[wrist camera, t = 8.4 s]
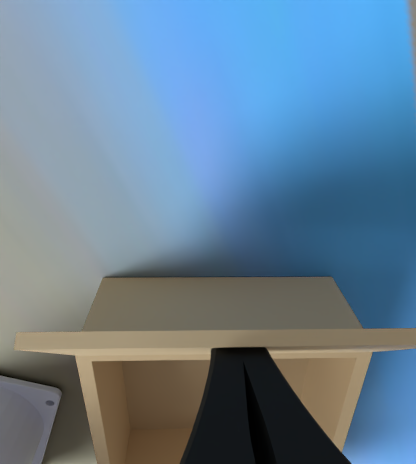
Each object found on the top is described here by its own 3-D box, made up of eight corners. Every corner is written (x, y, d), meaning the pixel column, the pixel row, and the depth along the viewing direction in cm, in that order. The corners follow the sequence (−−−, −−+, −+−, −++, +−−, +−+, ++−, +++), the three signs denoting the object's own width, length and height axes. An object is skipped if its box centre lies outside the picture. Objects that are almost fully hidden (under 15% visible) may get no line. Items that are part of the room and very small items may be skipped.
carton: (300, 423, 24) (324, 506, 20) (123, 427, 24) (107, 513, 19) (332, 276, 19) (374, 346, 14) (102, 277, 18) (74, 350, 14)
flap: (81, 355, 14) (82, 345, 14) (369, 352, 14) (367, 341, 14) (13, 349, 8) (16, 332, 9) (470, 344, 9) (465, 327, 9)
